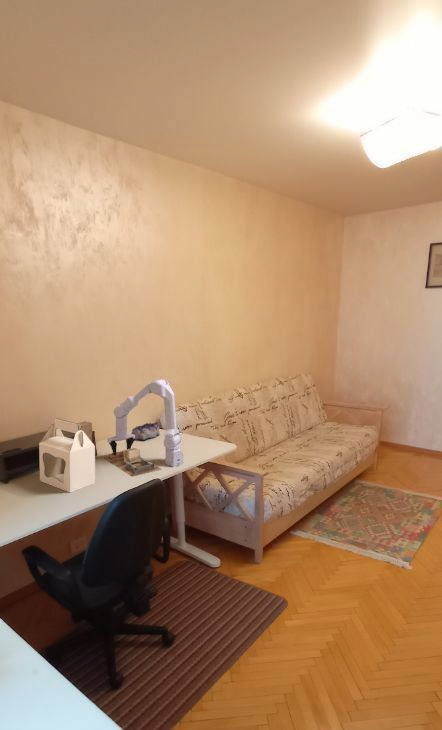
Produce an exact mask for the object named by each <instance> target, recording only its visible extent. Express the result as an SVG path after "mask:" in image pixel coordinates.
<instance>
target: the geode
mask: <svg viewBox="0 0 442 730" xmlns="http://www.w3.org/2000/svg"><path fill="white" fill-rule="evenodd" d="M130 433H131V434H134V435H135V438H134V441H135V440H137V441H146V440H148V439H155V438H157V436H161V435H160V434H161V433H160V426H159V423H158V422H155V423H151V422H149V423H148V422H147V423H144V424H142V425H138V426H137V425H136V426H135V427H134V428H132V429H131V432H130Z"/></svg>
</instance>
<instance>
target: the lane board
mask: <svg viewBox="0 0 442 730" xmlns="http://www.w3.org/2000/svg"><path fill="white" fill-rule="evenodd" d="M103 459H105V460H106V461H108V462H109V463H110V464H112V465H114V466H115V467H117V468H118V469H119V470H121V471H123V472H124V473H126V474H127V475H128V476H130V477H132V478H133V477H137V476H141V475H144V474H145V475H146V474H149V473H153V472H158V471H162V470H163V469H162V468H161V467H159V466H156V465H155V463H152V462H151V461H149V460H147V459H145V458H142V457H141V456H140V459H141V461H139V462H135V463H129V462H124V456H119V457H115V458H109V456H107V457H104V458H103Z"/></svg>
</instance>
